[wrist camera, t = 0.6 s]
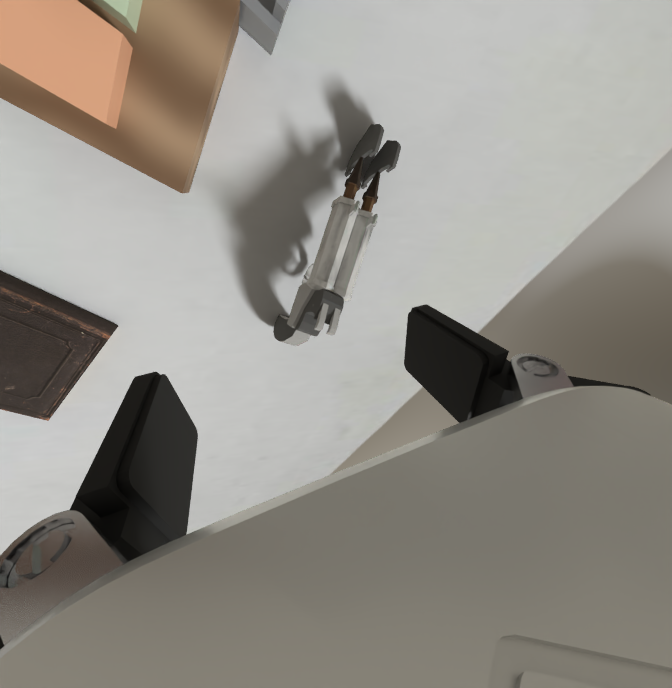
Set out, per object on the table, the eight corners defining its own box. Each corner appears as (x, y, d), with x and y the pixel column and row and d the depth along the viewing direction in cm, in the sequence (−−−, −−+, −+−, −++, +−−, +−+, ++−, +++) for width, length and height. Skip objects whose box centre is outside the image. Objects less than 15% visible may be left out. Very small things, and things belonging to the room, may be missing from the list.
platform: (-36, -218, 15) (-133, -365, 11) (238, 31, 23) (240, -1, 19) (-43, 68, 19) (-114, 37, 15) (188, 192, 28) (182, 193, 24)
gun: (261, 334, 38) (298, 350, 25) (317, 166, 39) (380, 98, 26) (293, 344, 41) (341, 363, 28) (344, 187, 41) (415, 134, 28)
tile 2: (24, -30, 16) (-1, -57, 14) (132, 48, 19) (122, 33, 17) (16, 71, 18) (-8, 58, 16) (116, 129, 20) (105, 123, 19)
